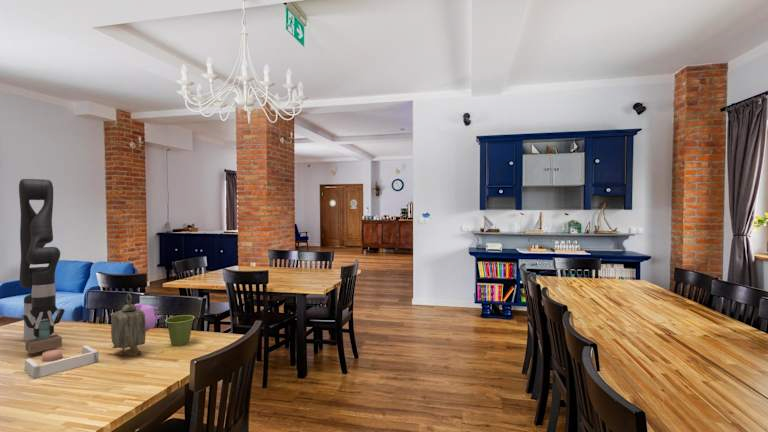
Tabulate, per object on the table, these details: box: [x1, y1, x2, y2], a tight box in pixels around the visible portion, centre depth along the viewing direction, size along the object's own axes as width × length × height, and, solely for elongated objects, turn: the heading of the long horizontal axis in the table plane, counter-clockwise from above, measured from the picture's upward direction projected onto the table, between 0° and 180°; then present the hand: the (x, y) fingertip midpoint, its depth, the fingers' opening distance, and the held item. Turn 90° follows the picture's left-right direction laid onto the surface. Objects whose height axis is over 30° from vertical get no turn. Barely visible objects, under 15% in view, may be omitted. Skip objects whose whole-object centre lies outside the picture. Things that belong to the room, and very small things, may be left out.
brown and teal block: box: [24, 320, 63, 354], centre depth 160 cm, size 7×10×11 cm
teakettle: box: [110, 303, 162, 330], centre depth 195 cm, size 17×17×12 cm
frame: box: [24, 345, 100, 379], centre depth 146 cm, size 12×19×4 cm, turn 145°
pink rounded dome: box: [41, 348, 63, 363], centre depth 153 cm, size 6×6×3 cm
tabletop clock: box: [110, 292, 147, 356], centre depth 159 cm, size 14×9×25 cm, turn 47°
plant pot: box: [164, 314, 196, 347], centre depth 172 cm, size 12×12×11 cm
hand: (43, 335), depth 160 cm, fingers closed on brown and teal block, 3 cm apart
